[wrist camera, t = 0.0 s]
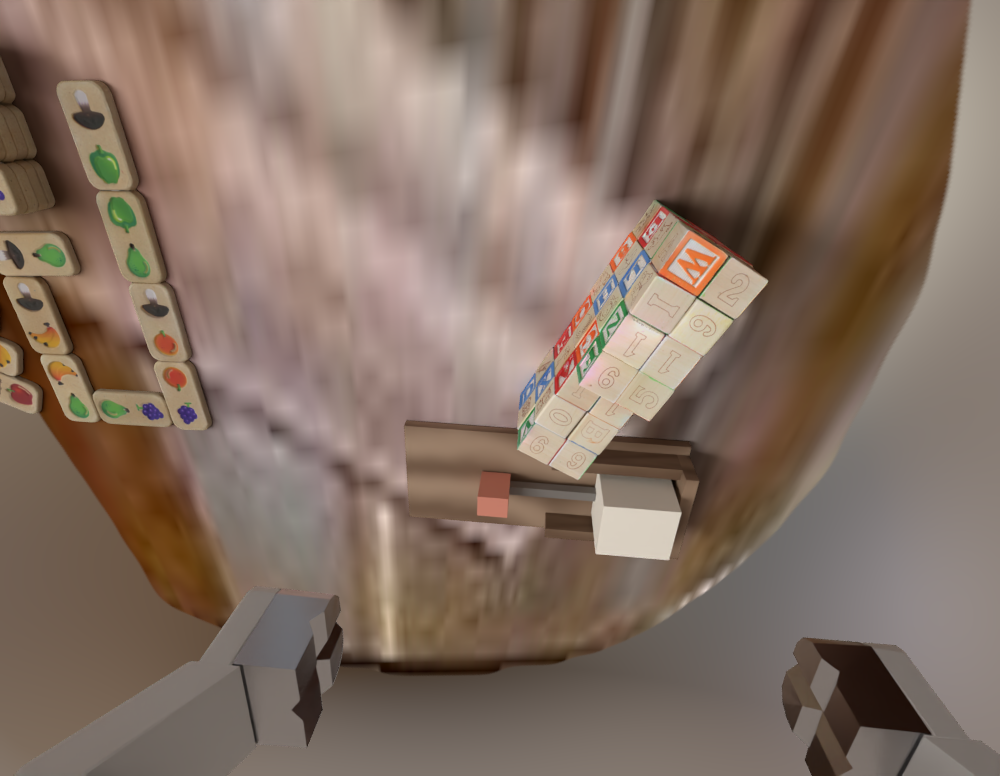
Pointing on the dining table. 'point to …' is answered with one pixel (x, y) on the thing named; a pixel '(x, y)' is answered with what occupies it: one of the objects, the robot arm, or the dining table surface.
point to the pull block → (603, 510)
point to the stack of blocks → (633, 339)
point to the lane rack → (530, 476)
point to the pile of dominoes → (30, 254)
